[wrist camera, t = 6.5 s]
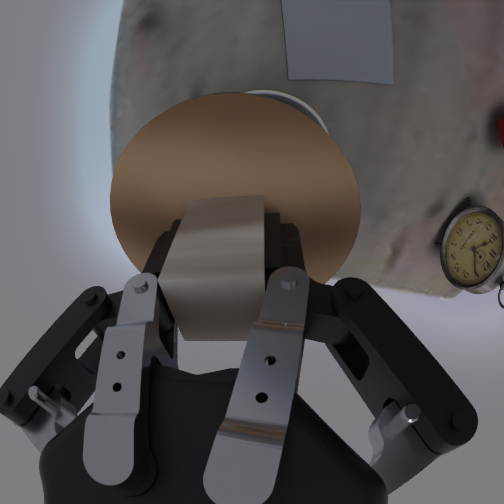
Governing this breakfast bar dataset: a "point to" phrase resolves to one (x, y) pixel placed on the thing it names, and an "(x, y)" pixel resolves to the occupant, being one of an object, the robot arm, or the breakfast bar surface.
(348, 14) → the mat
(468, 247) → the alarm clock
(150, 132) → the lid
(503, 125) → the strawberry
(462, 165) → the breakfast bar surface
